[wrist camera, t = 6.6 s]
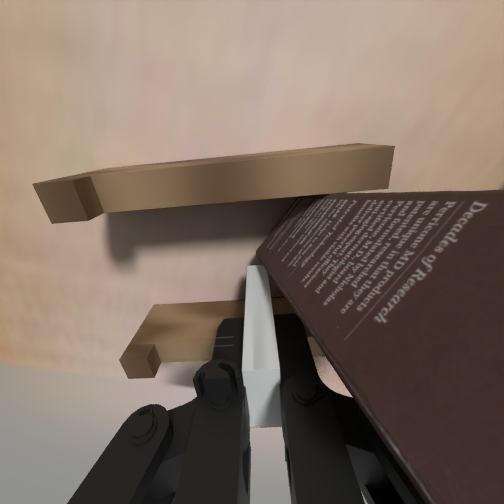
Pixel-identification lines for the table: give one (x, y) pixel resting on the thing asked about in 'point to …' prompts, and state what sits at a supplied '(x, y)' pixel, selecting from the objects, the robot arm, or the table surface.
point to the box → (409, 323)
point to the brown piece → (209, 192)
